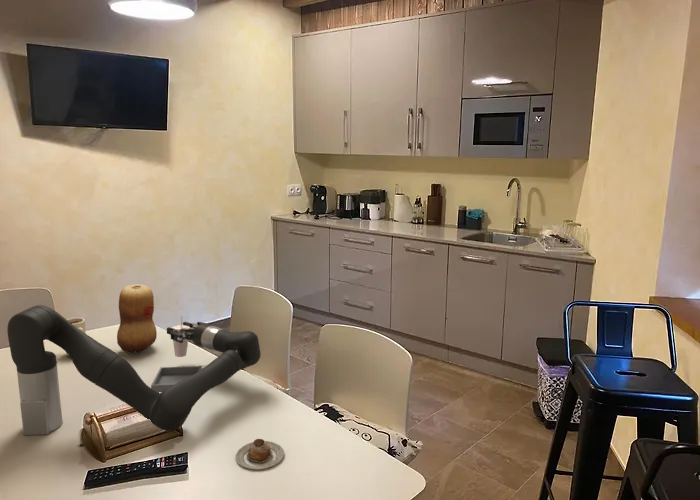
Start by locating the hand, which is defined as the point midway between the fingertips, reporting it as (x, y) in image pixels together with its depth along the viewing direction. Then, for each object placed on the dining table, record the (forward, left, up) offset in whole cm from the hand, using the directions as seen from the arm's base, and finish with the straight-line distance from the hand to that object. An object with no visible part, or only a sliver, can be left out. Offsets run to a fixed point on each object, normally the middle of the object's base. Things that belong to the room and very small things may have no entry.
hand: (175, 327), depth 184 cm
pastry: (-59, -31, -14) cm, 68 cm away
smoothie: (-2, -1, -9) cm, 10 cm away
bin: (-17, -3, -14) cm, 22 cm away
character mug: (+11, +37, -14) cm, 41 cm away
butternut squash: (+13, +16, -14) cm, 25 cm away
